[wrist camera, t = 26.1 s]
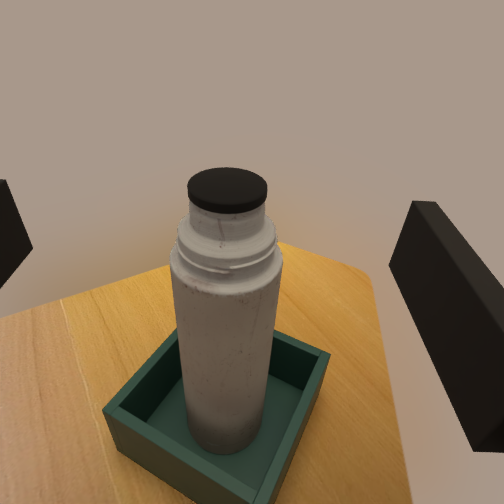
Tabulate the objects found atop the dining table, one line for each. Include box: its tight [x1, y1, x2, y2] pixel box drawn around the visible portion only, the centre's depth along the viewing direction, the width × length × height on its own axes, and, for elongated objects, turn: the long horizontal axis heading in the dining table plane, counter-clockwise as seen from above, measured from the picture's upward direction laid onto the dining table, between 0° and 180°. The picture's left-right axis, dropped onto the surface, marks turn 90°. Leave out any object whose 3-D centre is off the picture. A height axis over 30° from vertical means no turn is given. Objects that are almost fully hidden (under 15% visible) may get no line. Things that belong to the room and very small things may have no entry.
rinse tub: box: [102, 328, 331, 504], centre depth 37 cm, size 16×16×8 cm
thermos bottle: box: [170, 167, 283, 455], centre depth 30 cm, size 8×8×28 cm
